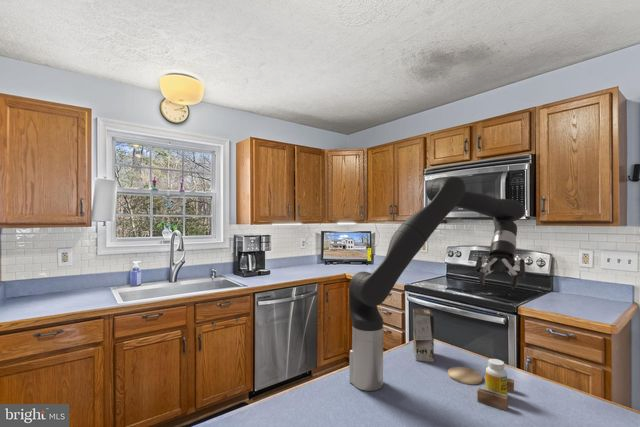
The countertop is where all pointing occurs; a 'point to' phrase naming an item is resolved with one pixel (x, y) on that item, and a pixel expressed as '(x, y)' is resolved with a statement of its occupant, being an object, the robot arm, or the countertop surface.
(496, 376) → the supplement bottle
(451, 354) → the countertop surface
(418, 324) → the coffee box
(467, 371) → the trivet
